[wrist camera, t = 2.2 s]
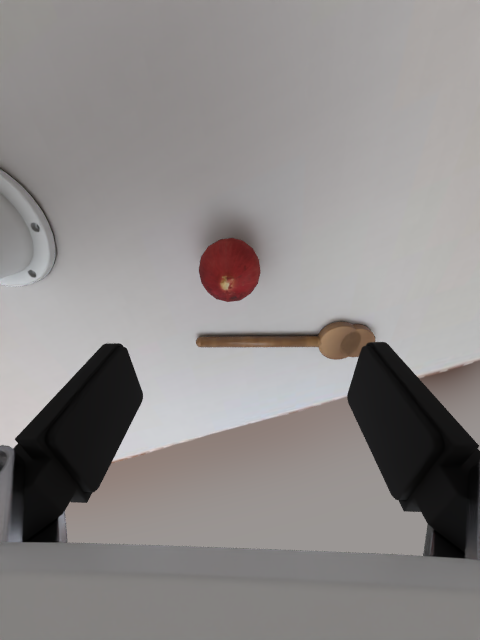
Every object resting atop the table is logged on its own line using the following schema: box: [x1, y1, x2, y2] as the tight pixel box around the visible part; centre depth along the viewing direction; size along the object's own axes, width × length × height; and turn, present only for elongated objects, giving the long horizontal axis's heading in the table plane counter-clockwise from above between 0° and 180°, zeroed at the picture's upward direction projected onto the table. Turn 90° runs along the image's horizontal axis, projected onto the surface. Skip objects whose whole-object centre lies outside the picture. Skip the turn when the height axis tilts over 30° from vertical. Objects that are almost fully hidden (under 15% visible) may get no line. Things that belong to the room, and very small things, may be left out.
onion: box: [199, 238, 260, 302], centre depth 21 cm, size 6×6×8 cm
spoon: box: [196, 321, 375, 359], centre depth 29 cm, size 23×5×1 cm, turn 91°
